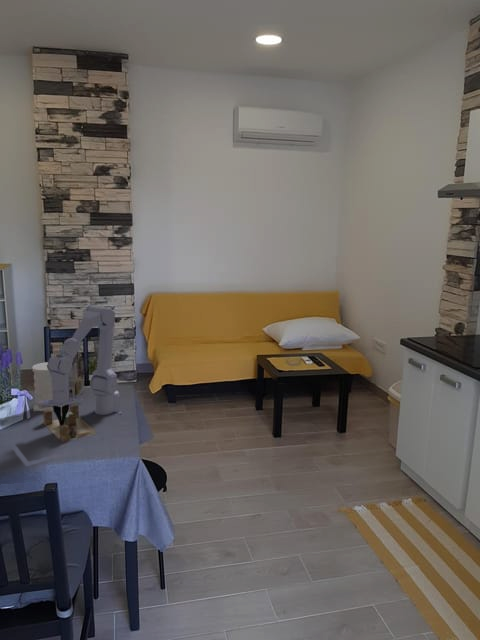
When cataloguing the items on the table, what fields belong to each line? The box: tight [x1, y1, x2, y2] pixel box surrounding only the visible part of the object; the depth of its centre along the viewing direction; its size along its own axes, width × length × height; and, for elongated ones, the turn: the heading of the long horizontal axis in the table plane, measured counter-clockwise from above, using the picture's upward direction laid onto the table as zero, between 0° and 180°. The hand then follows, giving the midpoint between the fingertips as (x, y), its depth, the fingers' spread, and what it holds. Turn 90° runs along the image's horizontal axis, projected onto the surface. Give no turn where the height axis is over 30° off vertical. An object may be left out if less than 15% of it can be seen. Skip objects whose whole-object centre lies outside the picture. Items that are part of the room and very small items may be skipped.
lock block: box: [61, 411, 73, 426], centre depth 184 cm, size 4×4×4 cm
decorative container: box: [31, 361, 53, 412], centre depth 200 cm, size 12×12×18 cm
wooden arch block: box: [69, 414, 76, 436], centre depth 178 cm, size 7×2×5 cm, turn 19°
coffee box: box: [68, 356, 85, 398], centre depth 217 cm, size 9×6×16 cm
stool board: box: [42, 405, 98, 443], centre depth 181 cm, size 13×20×6 cm, turn 39°
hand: (62, 424), depth 179 cm, fingers closed
